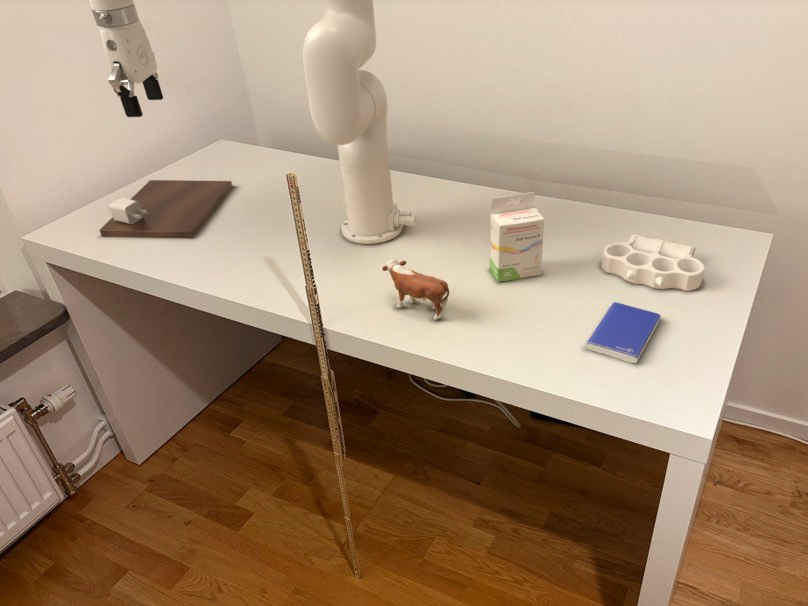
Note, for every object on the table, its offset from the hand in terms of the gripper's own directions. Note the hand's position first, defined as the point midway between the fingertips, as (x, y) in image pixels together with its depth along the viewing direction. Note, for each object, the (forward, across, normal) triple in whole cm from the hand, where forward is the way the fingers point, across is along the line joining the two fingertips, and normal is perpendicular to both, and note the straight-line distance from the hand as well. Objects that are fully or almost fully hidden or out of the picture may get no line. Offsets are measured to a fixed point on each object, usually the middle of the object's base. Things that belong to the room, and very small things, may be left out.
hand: (145, 107), depth 140 cm
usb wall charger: (+21, -8, +6) cm, 24 cm away
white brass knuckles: (+25, -22, -100) cm, 105 cm away
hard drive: (+24, -42, -93) cm, 105 cm away
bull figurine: (+24, -36, -58) cm, 72 cm away
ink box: (+24, -24, -75) cm, 82 cm away
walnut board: (+23, 0, +2) cm, 23 cm away
